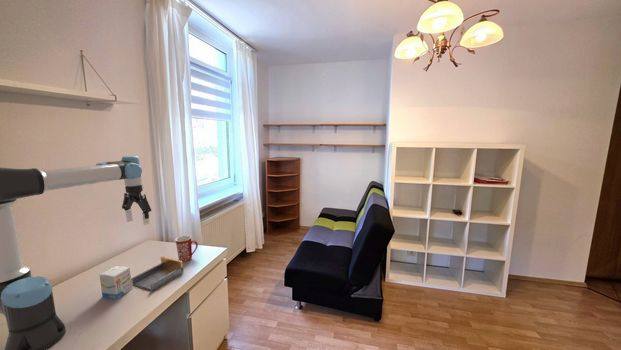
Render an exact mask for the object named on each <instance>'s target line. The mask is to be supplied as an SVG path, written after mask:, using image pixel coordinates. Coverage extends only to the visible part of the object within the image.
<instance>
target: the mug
mask: <svg viewBox="0 0 621 350" xmlns="http://www.w3.org/2000/svg"><path fill="white" fill-rule="evenodd" d="M174 239H175V245H176V251H177V257H178V260H180V261H182V263H183V261H184V262H188V261H190V260H191V259H192V258H193V255H194V253H195V252H196V251H197V250H198V246H199V245H198V241H197V240H196V239H195V240H192V236H191V235H187V234H186V235H181V236H178V237H175V238H174ZM193 243H194V244H195V248H194V250H193V251H192V249H193V248H192V244H193Z"/></svg>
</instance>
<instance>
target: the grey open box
mask: <svg viewBox="0 0 621 350" xmlns="http://www.w3.org/2000/svg"><path fill="white" fill-rule="evenodd" d="M183 264H184V263H183V262H182V261H180V260H179V259H176V258H171V257H167V256H161V257H160V263H158V264H156V265H154V266H153V267H151V268H149V269H146V270H145V271H143V272H141V273H139V274H137V275H135V276H132V277H131V283H132V286H135V287H138V288H140V289H144V290H146V291H150V292H154V291H156V290H157V289H159V288H161V287H163V286H164V285H166V284H167V283H169V282H170V281H172V280H174V279H176V278H178V276H180V275H182V274H184V266H183Z"/></svg>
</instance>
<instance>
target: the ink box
mask: <svg viewBox="0 0 621 350" xmlns="http://www.w3.org/2000/svg"><path fill="white" fill-rule="evenodd" d="M131 278H132V277H131V268H130V267H127V266H123V265H122V266H121V265H116V266H113V267H112V268H109V269H107V270H105V271H104V272H101V273H100V274H99V282H100V289H101V297H102V298H106V299H110V300H111V299H113V300H118V299H120V298H121V297H122V296H124V295H125V294H126V293H128V292H130V291H131V290H133V285H132V282H131Z"/></svg>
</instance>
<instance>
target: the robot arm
mask: <svg viewBox="0 0 621 350" xmlns="http://www.w3.org/2000/svg"><path fill="white" fill-rule="evenodd" d="M142 173H143V169H142V167H141V162H140V158H139V156H136V155H128V156H127V155H125V156H121V160H115V161H103V162H98V163H96V164H95V165H90V166H89V165H88V166H78V167H77V166H76V167H68V168H67V167H65V168H58V169H56V168H55V169H45V170H41V169H39V168H37V167H36V168H35V167H34V168H11V167H9V168H8V167H2V166H1V167H0V314H1V315H4V317H5V320H6V325H7V330H8V336H7V339H6V343H5V346H4V350H47V349H50V348H51V347H52V346H54V345H56V344H57V343H58V342H59V341H60V340H61V339H62V338H63V337H64V336H65V334H66V332H67V331H66V324H65V323H64V322H63V321H62V320H61V318H60V317H59V316H58V315H57V312H56V304H55V300H54V299H55V298H54V293H53V285H52V283H51V280H50V279H49V278H48V277H45V276H40V275H38V276H33V275H32V272H31V268H30V267H29V266H27V265H24V263H23V257H22V252H21V248H20V244H19V243H20V242H19V237H18V232H17V227H16V223H15V217H14V212H13V208H12V207H13V205H14V204H15V203H16V202H17V201H18V199H22V198H27V197H33V196H39V195H43V194H45V192H46V191H55V190H59V189H66V188H72V187H80V186H86V185H87V186H88V185H93V184H99V183H106V182H112V181H121V180H124V185H125V187H124V189H125V192H124V194H123V202H122V204H121V209H122V210H123V209H124V212H125V217H126V222H127V223H130V222H132V221H133V212H132V206H133V204H134V203H135V204H137V205H138V206H139V208H140V210H141V211H142V214H141V215H142V221H143V223H142V224H143V225H144V226H145V225H150V212H152V210H153V209H152V208H151V206H150V204H149V203H150V202H148V201H149V200H148V199H147V194H145V193H143V194H142V192H143V191H144V190H143V189H144V188H143V184H142V183H143V181H142Z"/></svg>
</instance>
